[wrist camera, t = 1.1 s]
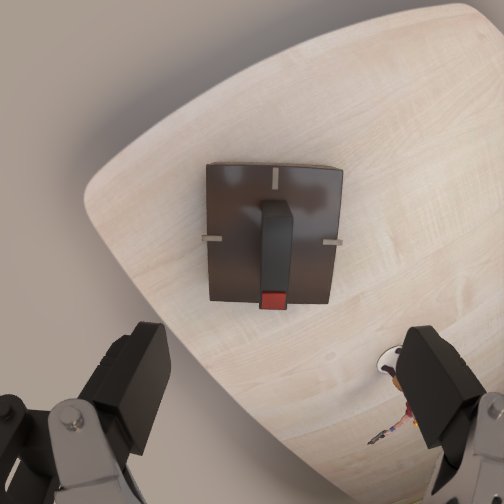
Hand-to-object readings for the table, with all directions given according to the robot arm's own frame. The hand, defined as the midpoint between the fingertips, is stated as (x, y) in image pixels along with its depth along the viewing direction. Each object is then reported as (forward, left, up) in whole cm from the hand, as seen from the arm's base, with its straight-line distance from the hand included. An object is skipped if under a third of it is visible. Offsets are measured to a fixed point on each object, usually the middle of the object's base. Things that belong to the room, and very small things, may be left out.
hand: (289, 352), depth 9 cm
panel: (0, 0, -15) cm, 15 cm away
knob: (0, 0, -12) cm, 12 cm away
